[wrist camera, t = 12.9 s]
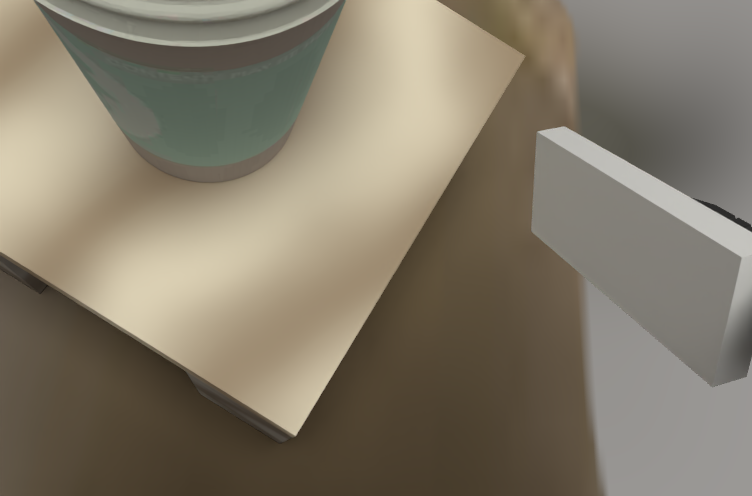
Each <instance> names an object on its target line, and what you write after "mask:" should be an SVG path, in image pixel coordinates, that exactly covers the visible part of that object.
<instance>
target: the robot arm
mask: <svg viewBox="0 0 752 496" xmlns="http://www.w3.org/2000/svg"><path fill="white" fill-rule="evenodd" d="M531 232H533V233H534V234H535V235H536V236H537V237H538V238H540V239H541V240H542V241H543V242H544V243H545V244H547V245H548V246H549V247H550V248H551V249H552V250H554V251H555V252H556V253H557V254H558V255H559V256H561V257H562V258H563V259H564V260H565V261H566V262H567V263H569V264H570V265H571V266H572V267H573V268H574V269H576V270H577V271H578V272H579V273H580V274H581V275H583V276H584V277H585V278H586V279H587V280H588V281H590V282H591V283H592V284H593V285H594V286H595V287H597V288H598V289H599V290H600V291H601V292H602V293H604V294H605V295H606V296H607V297H609V299H610V300H612V301H613V302H614V303H615V304H616V305H617V306H619V307H620V308H621V309H622V310H623V311H624V312H626V313H627V314H628V315H629V316H630V317H631V318H633V319H634V320H635V321H636V322H637V323H638V324H639V325H641V326H642V327H643V328H644V329H645V330H647V331H648V332H649V333H650V334H651V335H652V336H654V337H655V338H656V339H657V340H658V341H659V342H660V343H662V344H663V345H664V346H665V347H666V348H668V349H669V350H670V351H671V352H672V353H673V354H674V355H675V356H677V357H678V358H679V359H680V360H681V361H682V362H684V363H685V364H686V365H687V366H688V367H690V368H691V369H692V370H693V371H694V372H695V373H696V374H698V375H699V376H700V377H701V378H702V379H703V380H705V381H706V382H707V383H708V384H709V385H710V386H712V387H715V386H718V385H721V384H724V383H727V382H731V381H734V380H737V379H741V378H744V377H746V376H747V373H748V369H749V365H750V361H751V357H752V227H751V225H750V224H749V223H747V222H745V221H743V220H741V219H740V218H737V219H736V218H735V216H734V215H732V214H731V213H729V212H727V211H725V210H723V209H722V208H720V207H718V206H716V205H714V204H710V203H707V202H704V201H700V200H697V199H694V198H691V197H688V196H687V195H685V194H683V193H681V192H680V191H678V190H676V189H674V188H672V187H671V186H669V185H667V184H665V183H664V182H662V181H660V180H658V179H657V178H655V177H653V176H651V175H649V174H648V173H646V172H644V171H642V170H640V169H639V168H637V167H635V166H634V165H632V164H630V163H628V162H626V161H625V160H623V159H621V158H619V157H618V156H616V155H614V154H612V153H611V152H609V151H607V150H605V149H603V148H602V147H600V146H598V145H596V144H595V143H593V142H591V141H589V140H588V139H586V138H584V137H582V136H580V135H579V134H577V133H575V132H573V131H572V130H570V129H568V128H566V127H559V128H554V129H549V130H543V131H538V132H537V138H536V156H535V174H534V192H533V210H532V228H531Z"/></svg>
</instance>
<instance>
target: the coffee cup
mask: <svg viewBox="0 0 752 496" xmlns="http://www.w3.org/2000/svg"><path fill="white" fill-rule="evenodd" d="M34 2H35V3H36V5H37V6H38V8H39V9H40V11H41V12H42V14H43V15H44V17H45V18H46V20H47V21H48V23H49V24H50V26H51V27H52V29H53V30H54V32H55V33H56V35H57V36H58V38H59V39H60V40H61V42H62V43H63V45H64V46H65V48H66V49H67V51H68V52H69V54H70V55H71V57H72V58H73V60H74V61H75V63H76V64H77V66H78V67H79V69H80V70H81V72H82V73H83V75H84V76H85V78H86V79H87V81H88V82H89V84H90V85H91V87H92V88H93V90H94V91H95V93H96V94H97V96H98V97H99V99H100V100H101V102H102V103H103V105H104V106H105V108H106V109H107V111H108V112H109V114H110V115H111V117H112V118H113V120H114V121H115V122H116V124H117V125H118V127H119V128H120V130H121V131H122V132H123V134H124V135H125V137H126V138H127V140H128V141H129V143H130V144H131V145H132V147H133V148H134V149H135V150H136V151H137V153H138V154H139V155H140V156H141V157H142V158H144V159H145V160H146V161H147V162H148V163H150V164H151V165H153V166H154V167H156V168H157V169H159V170H161V171H163V172H165V173H167V174H169V175H172V176H174V177H177V178H181V179H184V180H189V181H195V182H223V181H229V180H233V179H237V178H240V177H243V176H246V175H248V174H250V173H252V172H254V171H256V170H258V169H259V168H261V167H263V166H264V165H265V164H267V163H268V162H269V161H270V160H271V159H273V158H274V157H275V156H276V154H277V153H278V152H279V151H280V150H281V149H282V147H283V146H284V144H285V143H286V141H287V139H288V137H289V135H290V133H291V131H292V128H293V126H294V124H295V121H296V119H297V117H298V114H299V112H300V110H301V108H302V105H303V103H304V100H305V98H306V96H307V93H308V91H309V88H310V86H311V84H312V81H313V79H314V76H315V74H316V72H317V69H318V67H319V64H320V62H321V59H322V57H323V55H324V52H325V50H326V47H327V45H328V43H329V40H330V38H331V35H332V33H333V31H334V28H335V26H336V23H337V21H338V19H339V16H340V14H341V11H342V9H343V6H344V4H345V2H346V0H34Z"/></svg>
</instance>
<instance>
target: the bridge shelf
mask: <svg viewBox="0 0 752 496" xmlns="http://www.w3.org/2000/svg"><path fill="white" fill-rule="evenodd" d="M524 58H525V56H524V55H523V54H521V53H520V52H518V51H516V50H515V49H513V48H512V47H510V46H508V45H507V44H505V43H504V42H502V41H500V40H499V39H497V38H496V37H494V36H492V35H491V34H489V33H488V32H486V31H484V30H483V29H481V28H480V27H478V26H476V25H475V24H473V23H472V22H470V21H468V20H467V19H465V18H464V17H462V16H460V15H459V14H457V13H456V12H454V11H452V10H451V9H449V8H448V7H446V6H444V5H443V4H441V3H440V2H438V1H436V0H346V2H345V4H344V6H343V9H342V11H341V14H340V16H339V19H338V21H337V23H336V26H335V28H334V31H333V33H332V35H331V38H330V40H329V43H328V45H327V47H326V50H325V52H324V55H323V57H322V59H321V62H320V64H319V67H318V69H317V72H316V74H315V76H314V79H313V81H312V84H311V86H310V88H309V91H308V93H307V96H306V98H305V100H304V103H303V105H302V108H301V110H300V112H299V114H298V117H297V119H296V121H295V124H294V126H293V128H292V131H291V133H290V135H289V137H288V139H287V141H286V143H285V144H284V146H283V147H282V149H281V150H280V151H279V152H278V153H277V154H276V156H275V157H274V158H273V159H271V160H270V161H269V162H268V163H267V164H265V165H264V166H263V167H261V168H259V169H258V170H256V171H254V172H252V173H250V174H248V175H246V176H243V177H240V178H237V179H233V180H229V181H223V182H195V181H189V180H184V179H181V178H177V177H174V176H172V175H169V174H167V173H165V172H163V171H161V170H159V169H157V168H156V167H154V166H153V165H151V164H150V163H148V162H147V161H146V160H145V159H144V158H142V157H141V156H140V155H139V154H138V153H137V151H136V150H135V149H134V148H133V147H132V145H131V144H130V143H129V141H128V140H127V138H126V137H125V135H124V134H123V132H122V131H121V130H120V128H119V127H118V125H117V124H116V122H115V121H114V120H113V118H112V117H111V115H110V114H109V112H108V111H107V109H106V108H105V106H104V105H103V103H102V102H101V100H100V99H99V97H98V96H97V94H96V93H95V91H94V90H93V88H92V87H91V85H90V84H89V82H88V81H87V79H86V78H85V76H84V75H83V73H82V72H81V70H80V69H79V67H78V66H77V64H76V63H75V61H74V60H73V58H72V57H71V55H70V54H69V52H68V51H67V49H66V48H65V46H64V45H63V43H62V42H61V40H60V39H59V38H58V36H57V35H56V33H55V32H54V30H53V29H52V27H51V26H50V24H49V23H48V21H47V20H46V18H45V17H44V15H43V14H42V12H41V11H40V9H39V8H38V6H37V5H36V3H35V2H34V0H0V269H1V270H3V271H4V272H6V273H7V274H9V275H11V276H12V277H14V278H15V279H17V280H19V281H20V282H22V283H23V284H25V285H27V286H28V287H30V288H31V289H33V290H35V291H36V292H38V293H39V294H40V293H41V292H42V291H43V290H44V288H45V287H46V286H47V285H49V286H50V287H52V288H54V289H55V290H57V291H58V292H60V293H62V294H63V295H65V296H66V297H68V298H70V299H71V300H73V301H74V302H76V303H78V304H79V305H81V306H82V307H84V308H86V309H87V310H89V311H90V312H92V313H94V314H95V315H97V316H98V317H100V318H102V319H103V320H105V321H106V322H108V323H110V324H111V325H113V326H114V327H116V328H118V329H119V330H121V331H122V332H124V333H126V334H127V335H129V336H130V337H132V338H134V339H135V340H137V341H138V342H140V343H142V344H143V345H145V346H146V347H148V348H150V349H151V350H153V351H154V352H156V353H158V354H159V355H161V356H162V357H164V358H166V359H167V360H169V361H170V362H172V363H174V364H175V365H177V366H178V367H180V368H182V369H183V370H185V371H186V373H187V374H188V376H189V377H190V379H191V381H192V382H193V384H194V385H195V387H196V388H197V390H198V392H199V393H200V394H201V395H203V396H204V397H206V398H207V399H209V400H211V401H212V402H214V403H215V404H217V405H219V406H220V407H222V408H223V409H225V410H227V411H228V412H230V413H231V414H233V415H235V416H236V417H238V418H239V419H241V420H243V421H244V422H246V423H247V424H249V425H251V426H252V427H254V428H255V429H257V430H259V431H260V432H262V433H263V434H265V435H267V436H268V437H270V438H271V439H273V440H275V441H276V442H278V443H282V442H284V441H286V440H288V439H291V438H293V437H295V436H296V435H297V433H298V432H299V430H300V428H301V427H302V425H303V423H304V422H305V420H306V418H307V417H308V415H309V413H310V412H311V410H312V408H313V407H314V405H315V403H316V402H317V400H318V398H319V397H320V395H321V393H322V392H323V390H324V388H325V387H326V385H327V384H328V382H329V380H330V379H331V377H332V375H333V374H334V372H335V370H336V369H337V367H338V365H339V364H340V362H341V360H342V359H343V357H344V355H345V354H346V352H347V350H348V349H349V347H350V345H351V344H352V342H353V341H354V339H355V337H356V336H357V334H358V332H359V331H360V329H361V327H362V326H363V324H364V322H365V321H366V319H367V317H368V316H369V314H370V312H371V311H372V309H373V307H374V306H375V304H376V302H377V301H378V299H379V298H380V296H381V294H382V293H383V291H384V289H385V288H386V286H387V284H388V283H389V281H390V279H391V278H392V276H393V274H394V273H395V271H396V269H397V268H398V266H399V264H400V263H401V261H402V259H403V258H404V256H405V254H406V253H407V251H408V250H409V248H410V246H411V245H412V243H413V241H414V240H415V238H416V236H417V235H418V233H419V231H420V230H421V228H422V226H423V225H424V223H425V221H426V220H427V218H428V216H429V215H430V213H431V211H432V210H433V208H434V207H435V205H436V203H437V202H438V200H439V198H440V197H441V195H442V193H443V192H444V190H445V188H446V187H447V185H448V183H449V182H450V180H451V178H452V177H453V175H454V173H455V172H456V170H457V168H458V167H459V165H460V164H461V162H462V160H463V159H464V157H465V155H466V154H467V152H468V150H469V149H470V147H471V145H472V144H473V142H474V140H475V139H476V137H477V135H478V134H479V132H480V130H481V129H482V127H483V125H484V124H485V122H486V120H487V119H488V117H489V116H490V114H491V112H492V111H493V109H494V107H495V106H496V104H497V102H498V101H499V99H500V97H501V96H502V94H503V92H504V91H505V89H506V87H507V86H508V84H509V82H510V81H511V79H512V77H513V76H514V74H515V73H516V71H517V69H518V68H519V66H520V64H521V63H522V61H523V59H524Z"/></svg>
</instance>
